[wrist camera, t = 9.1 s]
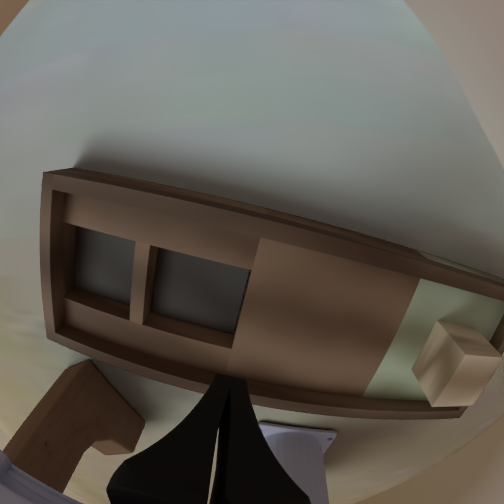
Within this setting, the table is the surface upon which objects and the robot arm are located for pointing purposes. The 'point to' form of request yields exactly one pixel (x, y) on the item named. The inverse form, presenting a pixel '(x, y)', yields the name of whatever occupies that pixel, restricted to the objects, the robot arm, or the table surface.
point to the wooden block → (73, 426)
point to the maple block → (455, 365)
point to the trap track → (248, 297)
